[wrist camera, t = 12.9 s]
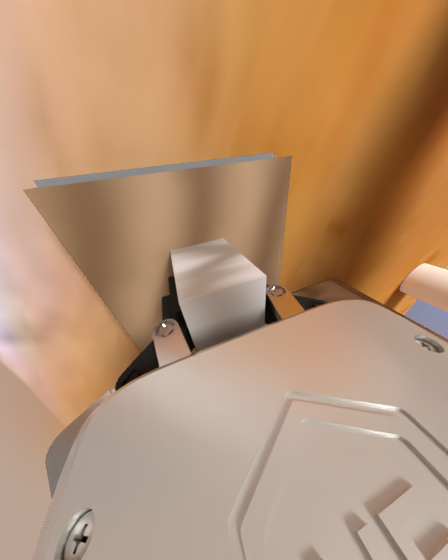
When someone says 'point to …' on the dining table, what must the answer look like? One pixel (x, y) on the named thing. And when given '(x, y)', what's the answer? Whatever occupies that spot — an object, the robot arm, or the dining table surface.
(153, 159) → the dining table surface
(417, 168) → the dining table surface
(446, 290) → the cylindrical container
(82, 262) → the lid
